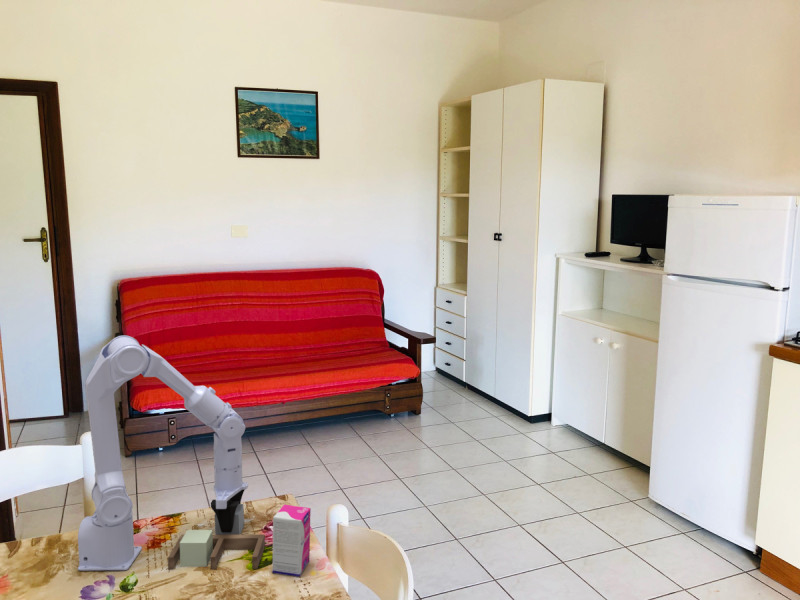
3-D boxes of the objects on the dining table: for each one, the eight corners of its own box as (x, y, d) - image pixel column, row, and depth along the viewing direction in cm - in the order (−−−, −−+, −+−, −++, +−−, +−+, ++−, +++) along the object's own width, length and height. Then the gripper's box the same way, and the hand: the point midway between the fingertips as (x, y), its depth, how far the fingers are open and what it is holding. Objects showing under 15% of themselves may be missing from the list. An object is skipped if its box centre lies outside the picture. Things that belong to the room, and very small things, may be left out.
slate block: (215, 537, 136) (214, 515, 135) (220, 525, 140) (220, 504, 140) (239, 537, 136) (238, 515, 135) (243, 525, 141) (243, 504, 140)
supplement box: (300, 577, 122) (300, 520, 120) (271, 573, 123) (270, 517, 121) (311, 561, 127) (311, 506, 125) (283, 557, 128) (282, 503, 127)
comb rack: (168, 569, 123) (167, 557, 123) (181, 546, 132) (181, 534, 131) (257, 568, 124) (257, 556, 124) (264, 545, 133) (264, 534, 132)
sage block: (180, 567, 125) (179, 542, 124) (187, 553, 129) (187, 530, 129) (206, 566, 125) (205, 542, 124) (213, 553, 130) (212, 529, 129)
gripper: (240, 479, 129) (241, 542, 131) (253, 451, 143) (254, 509, 145) (204, 479, 129) (206, 542, 131) (221, 451, 143) (223, 509, 145)
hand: (229, 525), depth 138 cm, fingers closed on slate block, 5 cm apart
